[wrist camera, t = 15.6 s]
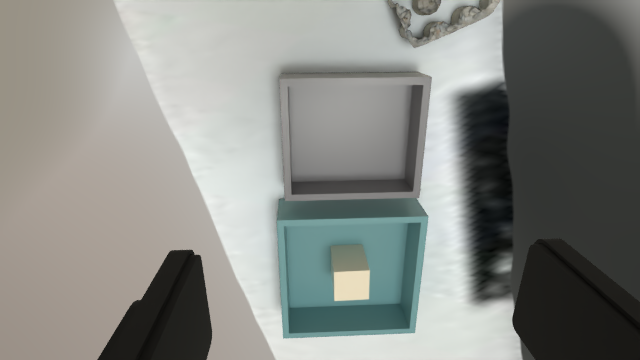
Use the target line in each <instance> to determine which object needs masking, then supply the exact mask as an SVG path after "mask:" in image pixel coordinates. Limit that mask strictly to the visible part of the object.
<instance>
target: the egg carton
mask: <svg viewBox="0 0 640 360" xmlns="http://www.w3.org/2000/svg"><path fill="white" fill-rule="evenodd" d="M499 2H500V1H499V0H480V3H479V6H480V7H479V10H478V9H477V8H476V7H474V6H467V7H460V8H458V9H456V10H455V11H454V12H453V14H452V17H451V24H450V25H448V24H447V23H446V22H444V21H442V22H432V23H429V24H428V25H427V26H426V27H425V29H424V32H423V37H422V39H417V38H415V37H412V34H411V31H410V30H407V29H408V27H409V26H410V18H411V12H410V10H408V9H406V8H405V7H399V5H398V3H396V4H394V3H393V1H392V0H388V3H389V6H390V8H396V11H397V15H398V16H399V18H400V20H401V23H402V26H401V27H400V28H399V31H400V34H401V36H402V37H403V38H407V39H408V40H409V42H410V43H411V44H412V46H413V47H414V48H416V47H419V46H422V45H425V44H427V43H429V42H431V41H433V40H436V39H439V38H440V37H443V36H445V35H448V34H450V33H453V32H455V31H456V30H459V29H461V28H463V27H465V26H467V25H470V24H472V23H475V22H477V21H479V20H481V19H483V18H485V17H487V16H489V15H490V14H491V13H492V12H493V11H494V9H495V8H496V6H497V5H498V3H499ZM440 4H441V0H413V9H414V11H415V12H416V13H417V14H419V15H431V14H432V13H434V12H436V11H437V9H438V8H439V6H440Z"/></svg>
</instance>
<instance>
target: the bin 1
mask: <svg viewBox="0 0 640 360" xmlns="http://www.w3.org/2000/svg"><path fill="white" fill-rule="evenodd" d="M431 80H432V77H430V76H428V75H425V74H422V73H419V72H367V73H282V74H281V76H280V79H279V82H280V104H281V126H282V148H283V170H284V192H285V201H313V200H352V199H391V198H419V195H420V185H421V176H422V166H423V157H424V147H425V137H426V128H427V118H428V108H429V99H430V89H431Z"/></svg>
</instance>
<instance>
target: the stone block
mask: <svg viewBox="0 0 640 360" xmlns="http://www.w3.org/2000/svg"><path fill="white" fill-rule="evenodd" d="M330 251H331V278H332V286H333V294H334V301H345V300H364V299H369V280H370V269H369V266H368V262H367V259H366V255H365V252H364V248H363V245H362V244H356V245H334V246H330Z"/></svg>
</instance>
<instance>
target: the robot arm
mask: <svg viewBox="0 0 640 360" xmlns="http://www.w3.org/2000/svg"><path fill="white" fill-rule="evenodd" d="M512 322H513V327H514V329H515V331H516V333H517V334H518V336H519V337H520V338H521V340H522V341H523V343H524V344H525V345H526V347H527V348H528V350H529V351H530V353H531V354H532V355H533V357H534V358H535V360H640V302H639V301H638V300H637V299H635V298H634V297H633V296H632V295H630V294H629V293H628V292H627V291H625V290H624V289H623V288H622V287H620V286H619V285H618V284H617V283H616V282H614V281H613V280H612V279H610V278H609V277H608V276H607V275H606V274H604V273H603V272H602V271H601V270H599V269H598V268H597V267H596V266H594V265H593V264H592V263H591V262H589V261H588V260H587V259H586V258H585V257H583V256H582V255H581V254H579V253H578V252H577V251H576V250H575V249H573V248H572V247H571V246H570V245H568V244H567V243H566V242H565V241H563V240H562V239H539V240H537V241H536V242H535V243H534V244H533V245H531V246H530V248H529V251H528V255H527V260H526V263H525V268H524V272H523V276H522V280H521V284H520V289H519V293H518V297H517V301H516V305H515V309H514V313H513V318H512ZM211 340H212V328H211V321H210V314H209V308H208V301H207V295H206V287H205V280H204V274H203V267H202V260H201V256H200V255H194V252H193V250H174V251H173V250H172V251H170V252H169V254H168V255H167V257H166V258H165V260H164V262H163V264H162V265H161V267H160V269H159V270H158V272H157V274H156V276H155V277H154V279H153V281H152V282H151V284H150V286H149V287H148V290H147V291H146V293H145V294H144V296H143V298H142V299H141V300H137V301H135V302H133V303H132V305H131V306H130V308H129V309H128V311H127V312H126V314H125V316H124V317H123V319H122V320H121V322H120V324H119V325H118V327H117V329H116V330H115V332H114V334H113V335H112V337H111V339H110V340H109V342H108V343H107V345H106V347H105V348H104V350H103V352H102V353H101V355H100V356H99V358H98V360H206V359H207V356H208V352H209V348H210V345H211Z"/></svg>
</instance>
